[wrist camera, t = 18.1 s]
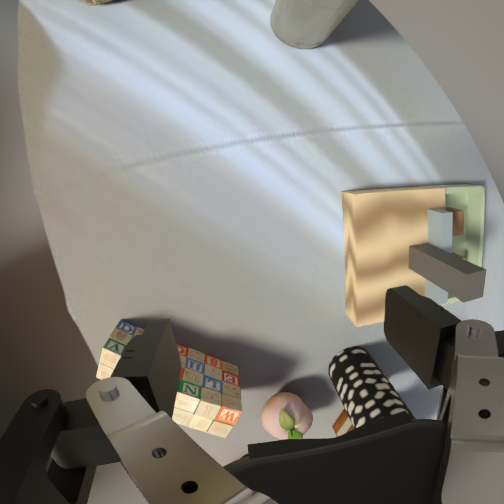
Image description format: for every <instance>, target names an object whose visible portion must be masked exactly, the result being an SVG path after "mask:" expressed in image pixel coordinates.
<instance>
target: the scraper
mask: <svg viewBox="0 0 504 504" xmlns="http://www.w3.org/2000/svg"><path fill="white" fill-rule="evenodd" d="M427 214H428V232H427V243H426V244H419V245H412V246H409V269H411V270H412V271H414V272H416V273H417V274H419V275H420V276H422V277H424V278H425V279H426V282H425V295H424V296H425V297H428V298H430V299H432V300H433V301H435V302H436V303H437V304H438V305H440V304H444V303H447V300H448V293H449V294H451V295H452V296H454V297H456V298H457V299H459V300H460V301H462V302H467V301H470V300H474V299H477V298H480V297H483V291H484V284H485V276H486V269H484V268H481V267H479V266H477V265H475V264H473V263H471V262H469V261H466V260H464V259H462V258H460V257H458V256H455V255H453V254H451V253H452V227H453V212H450V211H446V210H442V209H438V208H436V209H427Z"/></svg>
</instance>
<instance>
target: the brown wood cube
mask: <svg viewBox="0 0 504 504" xmlns="http://www.w3.org/2000/svg"><path fill="white" fill-rule="evenodd" d="M445 210H446V211H450V212H453V227H452V236H457V235H464V211H463V210H459V209H455V208H451V207H449V208H445Z"/></svg>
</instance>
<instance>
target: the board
mask: <svg viewBox="0 0 504 504" xmlns="http://www.w3.org/2000/svg"><path fill="white" fill-rule="evenodd" d="M342 205H343V221H344V241H345V270H346V314H347V316H348V317H349V318H350V320H351V321H352V322H353V323H354V325H355V326H356V327H360V326H365V325H370V324H374V323H379V322H383V321H384V316H385V296H386V291H387V289H389V288H393V287H398V286H404V285H407V286H408V287H410V288H411V289H413V290H414V291H416V292H417V293H418V294H420V295H422V296H424V295H425V282H426V279H425V278H424V277H422V276H420V275H419V274H417V273H416V272H414V271H412V270H411V269H409V246H412V245H419V244H426V243H427V232H428V214H427V209H436V208H438V209H442V210H445V188H441V187H434V186H412V187H396V188H381V189H367V190H354V191H342Z"/></svg>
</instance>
